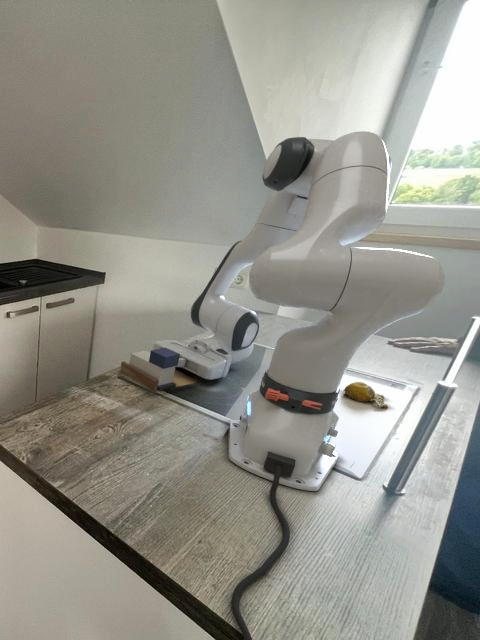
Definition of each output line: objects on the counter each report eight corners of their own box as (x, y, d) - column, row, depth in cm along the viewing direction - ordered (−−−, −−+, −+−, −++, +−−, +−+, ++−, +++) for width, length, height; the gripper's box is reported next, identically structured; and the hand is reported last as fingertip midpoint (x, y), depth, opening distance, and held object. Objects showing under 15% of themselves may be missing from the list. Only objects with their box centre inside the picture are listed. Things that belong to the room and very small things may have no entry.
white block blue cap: (175, 387, 99) (182, 354, 96) (159, 391, 97) (165, 358, 94) (141, 369, 109) (146, 338, 106) (126, 372, 107) (130, 341, 103)
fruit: (389, 410, 92) (395, 396, 90) (344, 400, 96) (349, 387, 94) (382, 396, 98) (388, 383, 96) (340, 387, 102) (345, 375, 101)
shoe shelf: (162, 366, 114) (164, 353, 112) (198, 385, 103) (201, 371, 101) (119, 375, 108) (121, 361, 107) (152, 396, 97) (155, 381, 96)
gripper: (176, 332, 117) (139, 338, 112) (237, 357, 99) (197, 365, 94) (172, 351, 119) (136, 358, 114) (231, 379, 102) (192, 388, 97)
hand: (164, 362), depth 104 cm, fingers closed
